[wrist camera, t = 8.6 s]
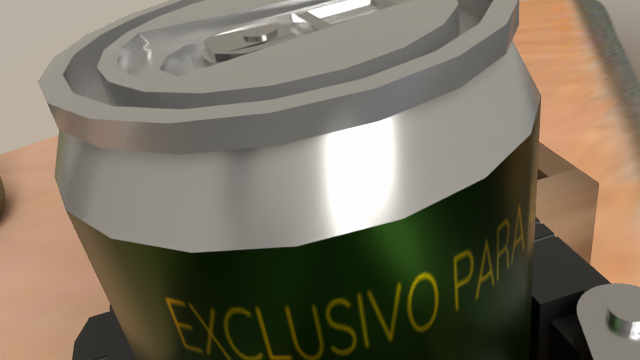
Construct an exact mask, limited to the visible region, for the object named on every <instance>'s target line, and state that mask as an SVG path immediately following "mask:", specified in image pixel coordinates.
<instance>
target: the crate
mask: <svg viewBox="0 0 640 360" xmlns="http://www.w3.org/2000/svg"><path fill="white" fill-rule="evenodd" d="M598 189H599V183H598V182H597V181H595V180H594V179H592V178H591V177H589V176H588V175H587V174H585V173H584V172H582V171H581V170H579V169H578V168H576V167H575V166H574V165H572V164H571V163H569V162H568V161H566V160H565V159H563V158H562V157H560V156H559V155H558V154H556V153H555V152H553V151H552V150H550V149H549V148H547V147H546V146H544V145H543V144H542V143H540V142H539V152H538V174H537V195H536V217H537V218H538V219H539V220H540V223H541V224H542V223H543V224H544V225H546V226H547V227H548V228H549V229H550V230H551V231H552V232H554V235H555V237H557V236H558V237H559V238H560V239H561V240H563V241H564V242H565V243H566V244H567V245H568V246H569V247H570V248H572V249H573V250H574V251H575V252H576V253H577V254H578V255H580V256H581V257H582V258H583V259H584V260H585V261H586V262H587V263H589V264H590V259H591V251H592V242H593V233H594V224H595V215H596V206H597V197H598Z"/></svg>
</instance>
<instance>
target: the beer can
mask: <svg viewBox="0 0 640 360" xmlns="http://www.w3.org/2000/svg"><path fill="white" fill-rule="evenodd" d="M518 26H519V0H170V1H167V2H164V3H161V4H158V5H156V6H153V7H150V8H147V9H144V10H142V11H139V12H136V13H133V14H130V15H128V16H125V17H123V18H121V19H119V20H117V21H115V22H113V23H111V24H109V25H106V26H104V27H102V28H100V29H98V30H96V31H94V32H92V33H90V34H87V35H85V36H84V37H83V38H81V39H80V40H78V41H77V42H75V43H74V44H72V45H71V46H70V47H68V48H67V49H65V50H64V51H62V52H61V53H60V54H58V55H57V56H55V57H54V58H53V59H52V61H51V62H50V64H49V65H48V67H47V68H46V70H45V71H44V73H43V74H42V76H41V77H40V79H39V80H38V82H39V85H40V87H41V90H42V92H43V94H44V96H45V99H46V101H47V104H48V106H49V108H50V110H51V113H52V115H53V117H54V119H55V122H56V124H57V126H58V129H59V137H58V148H57V158H56V168H55V179H56V182H57V185H58V188H59V191H60V194H61V197H62V200H63V203H64V206H65V209H66V211H67V213H68V215H69V218H70V220H71V222H72V224H73V226H74V228H75V230H76V232H77V234H78V237H79V239H80V241H81V243H82V245H83V247H84V249H85V251H86V253H87V256H88V258H89V260H90V262H91V264H92V266H93V268H94V270H95V272H96V275H97V277H98V279H99V281H100V283H101V285H102V287H103V289H104V291H105V294H106V296H107V298H108V300H109V302H110V304H111V306H112V308H113V310H114V313H115V315H116V317H117V319H118V321H119V323H120V325H121V327H122V330H123V332H124V334H125V336H126V338H127V340H128V342H129V344H130V346H131V349H132V351H133V353H134V355H135V357H136V359H137V360H529V348H530V326H531V304H532V283H533V261H534V239H535V217H536V195H537V174H538V152H539V130H540V108H541V94H540V92H539V90H538V89H537V87H536V85H535V83H534V81H533V79H532V77H531V75H530V73H529V71H528V69H527V68H526V66H525V64H524V62H523V60H522V58H521V56H520V54H519V52H518V50H517V48H516V47H515V45H514V43H513V41H512V39H513V37H514V35H515V32H516V30H517V28H518Z"/></svg>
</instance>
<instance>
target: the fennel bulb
mask: <svg viewBox="0 0 640 360" xmlns="http://www.w3.org/2000/svg"><path fill="white" fill-rule="evenodd" d="M4 202H5V194H4V187H3V183H2V180H1V177H0V212H1V210H2V208H3V206H4Z"/></svg>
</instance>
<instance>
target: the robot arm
mask: <svg viewBox="0 0 640 360" xmlns="http://www.w3.org/2000/svg"><path fill="white" fill-rule="evenodd" d="M72 360H137V359H136V357H135V355H134V353H133V351H132V349H131V346H130V344H129V342H128V340H127V338H126V336H125V334H124V332H123V330H122V327H121V325H120V323H119V321H118V319H117V317H116V315H115V313H114V310H113V308H112V306H111V304H110V311H109V312H106V313H103V314H99V315H96V316H93V317H90V318H89V319H88V321H87V323H86V324H85V326H84V327H83V329H82V331H81V332H80V334H79V336H78V337H77V339H76V341H75V343H74V350H73V358H72ZM529 360H640V287H638V286H634V285H628V284H611V283H610V282H609V281H608V280H607V279H606V278H604V277H603V276H602V275H601V274H600V273H599V272H598V271H597V270H595V269H594V268H593V267H592V266H591V265H590V264H589V263H587V262H586V261H585V260H584V259H583V258H582V257H581V256H580V255H578V254H577V253H576V252H575V251H574V250H573V249H572V248H570V247H569V246H568V245H567V244H566V243H565V242H564V241H563V240H561V239H560V238H559V237H558V236H557V237H555V235H554V232H552V231H551V230H550V229H549V228H548V227H547V226H546V225H544V224H543V223H542V224H541V223H540V220H539V219H538V218H537V217H535V239H534V261H533V283H532V304H531V326H530V348H529Z"/></svg>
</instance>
